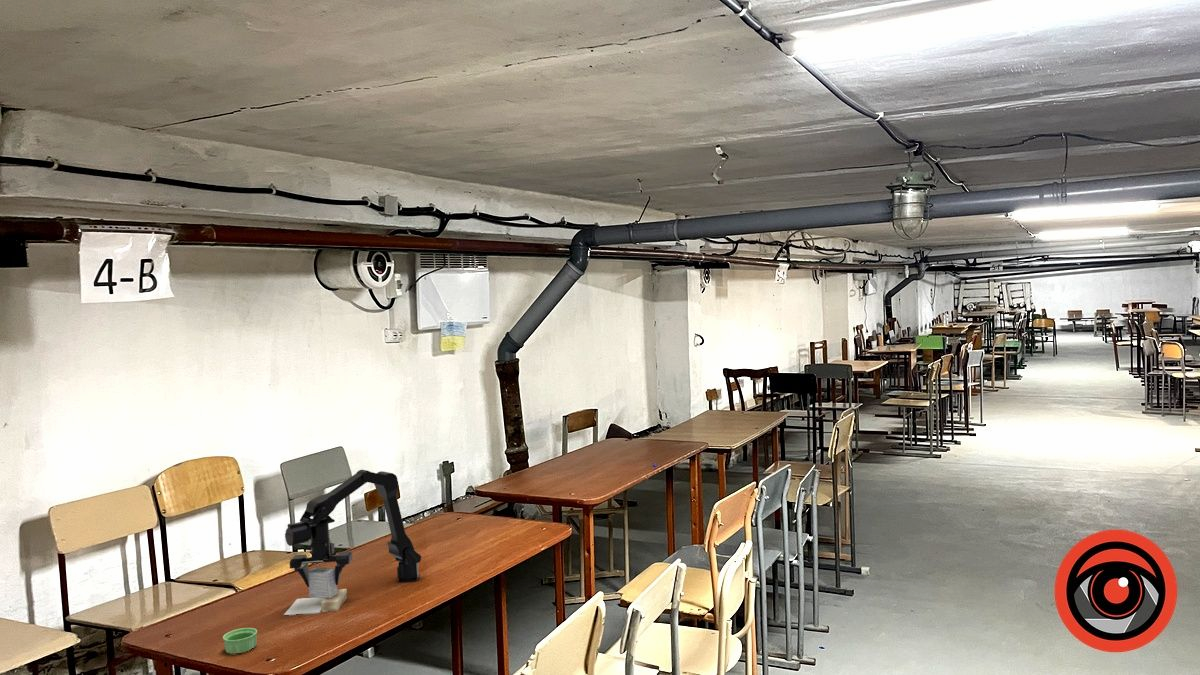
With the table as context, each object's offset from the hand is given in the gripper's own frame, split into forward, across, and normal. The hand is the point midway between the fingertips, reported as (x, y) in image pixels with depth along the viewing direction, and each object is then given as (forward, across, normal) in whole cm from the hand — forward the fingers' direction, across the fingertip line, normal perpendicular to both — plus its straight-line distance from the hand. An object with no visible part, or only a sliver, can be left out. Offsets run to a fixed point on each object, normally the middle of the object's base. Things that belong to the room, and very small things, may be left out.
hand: (323, 585), depth 261 cm
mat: (+6, +5, 0) cm, 8 cm away
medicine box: (+4, 0, 0) cm, 4 cm away
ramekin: (+7, +15, +31) cm, 35 cm away
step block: (+6, -3, 0) cm, 7 cm away
